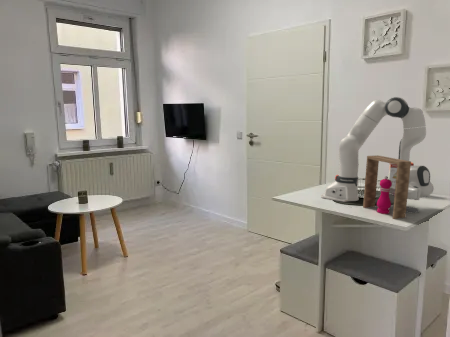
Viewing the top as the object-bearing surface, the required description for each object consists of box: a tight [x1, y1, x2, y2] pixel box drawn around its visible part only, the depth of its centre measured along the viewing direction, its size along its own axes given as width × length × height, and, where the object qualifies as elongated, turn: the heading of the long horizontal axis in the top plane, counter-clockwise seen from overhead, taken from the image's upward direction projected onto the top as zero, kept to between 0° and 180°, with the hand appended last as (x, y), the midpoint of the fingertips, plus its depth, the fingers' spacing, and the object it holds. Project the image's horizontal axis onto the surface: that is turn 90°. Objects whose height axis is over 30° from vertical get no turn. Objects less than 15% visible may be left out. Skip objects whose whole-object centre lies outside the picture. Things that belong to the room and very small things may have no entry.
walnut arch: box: [362, 155, 412, 220], centre depth 199 cm, size 8×23×30 cm, turn 20°
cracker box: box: [387, 161, 415, 186], centre depth 247 cm, size 14×6×21 cm, turn 73°
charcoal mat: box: [406, 205, 420, 214], centre depth 207 cm, size 11×11×1 cm
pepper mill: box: [376, 175, 392, 215], centre depth 199 cm, size 7×7×20 cm
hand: (387, 192), depth 200 cm, fingers open, 8 cm apart
